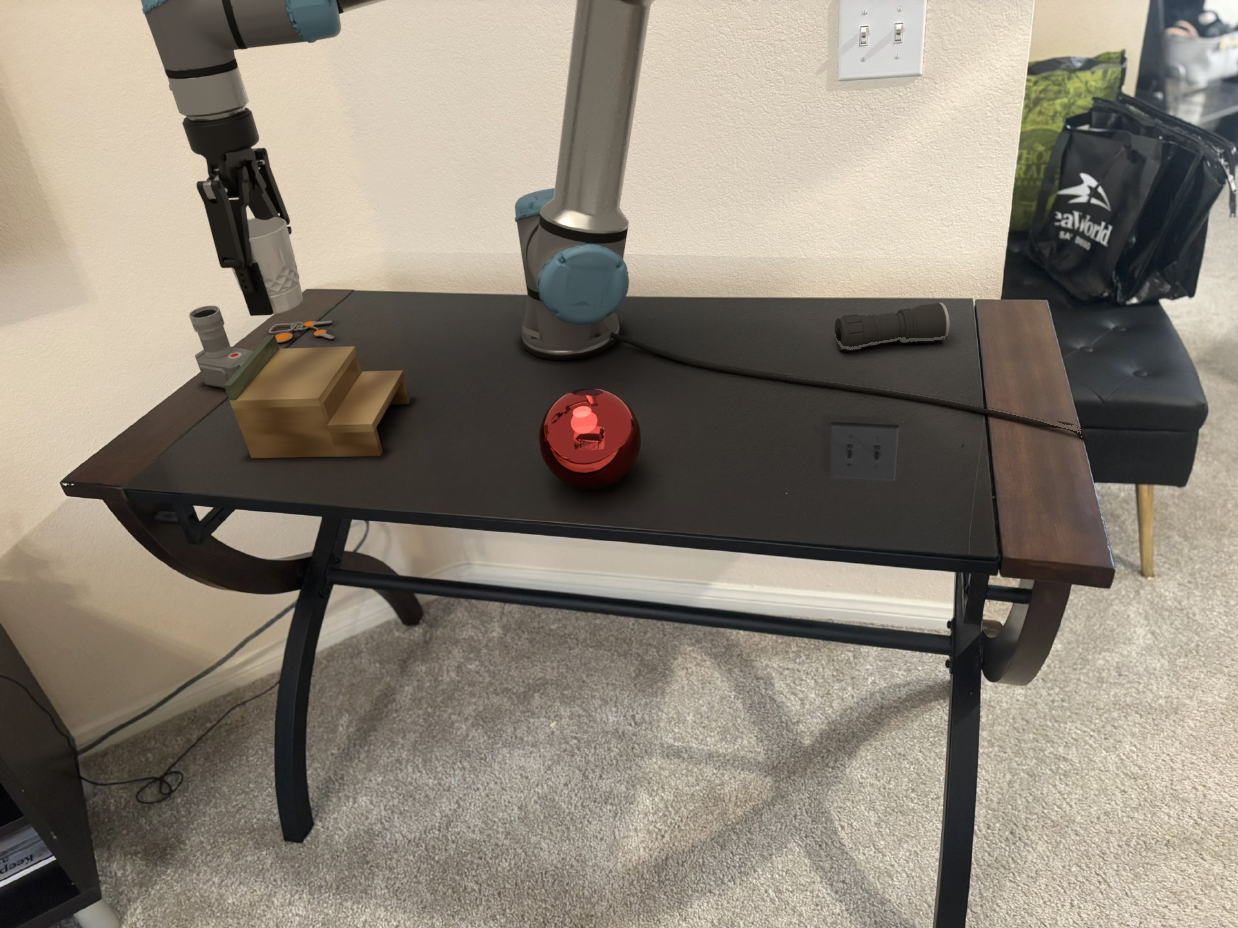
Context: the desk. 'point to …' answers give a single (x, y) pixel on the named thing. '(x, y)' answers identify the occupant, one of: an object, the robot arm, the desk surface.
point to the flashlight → (893, 325)
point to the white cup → (275, 262)
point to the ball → (590, 438)
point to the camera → (215, 347)
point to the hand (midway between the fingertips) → (275, 299)
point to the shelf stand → (311, 402)
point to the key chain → (287, 336)
